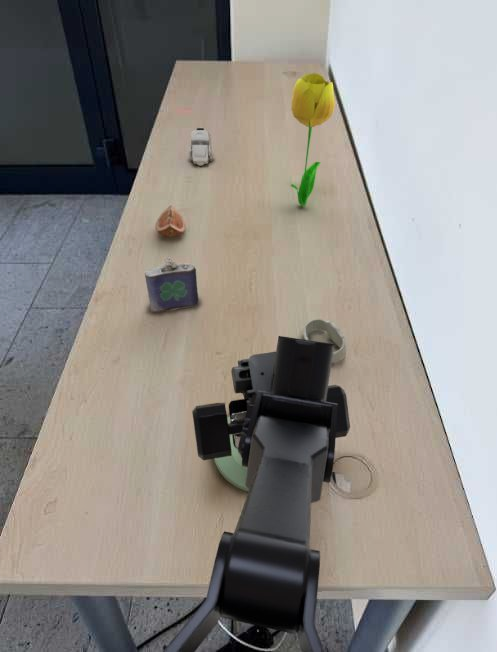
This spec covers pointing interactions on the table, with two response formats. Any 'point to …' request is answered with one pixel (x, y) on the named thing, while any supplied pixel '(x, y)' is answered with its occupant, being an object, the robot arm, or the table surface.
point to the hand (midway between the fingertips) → (260, 410)
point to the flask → (172, 286)
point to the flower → (311, 119)
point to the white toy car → (200, 146)
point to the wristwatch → (333, 333)
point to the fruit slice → (170, 223)
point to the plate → (233, 467)
